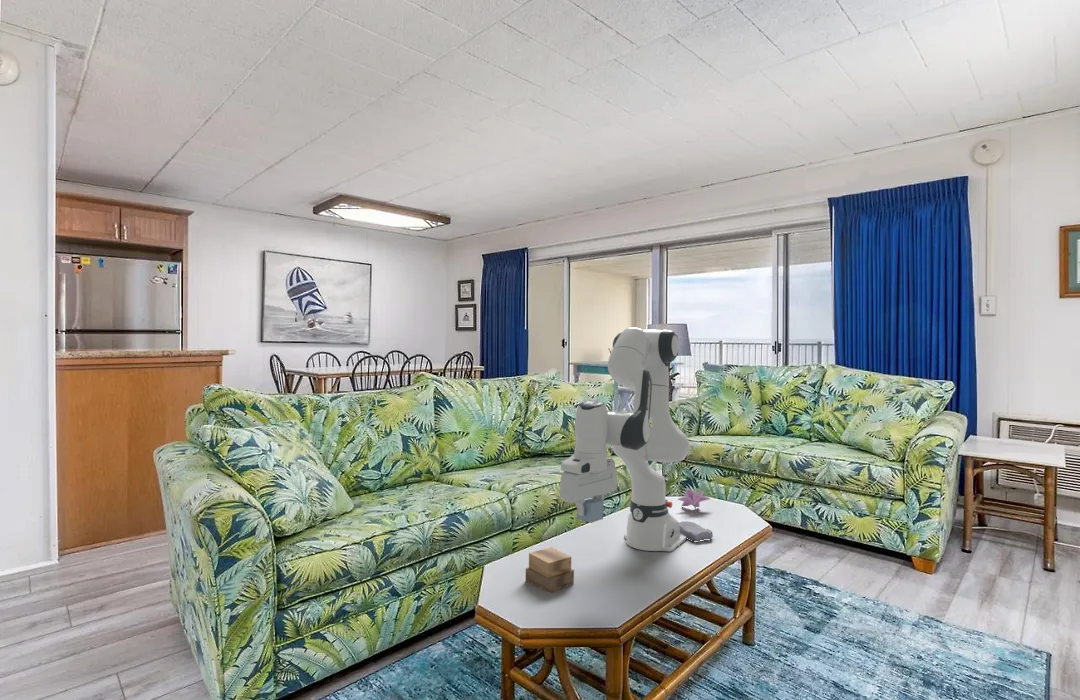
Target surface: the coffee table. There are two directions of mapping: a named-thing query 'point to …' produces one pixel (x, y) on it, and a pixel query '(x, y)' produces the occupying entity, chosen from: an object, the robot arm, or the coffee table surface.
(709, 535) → the stone block
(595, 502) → the slate cube
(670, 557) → the coffee table surface
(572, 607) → the coffee table surface
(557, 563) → the teak block
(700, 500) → the lily
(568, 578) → the walnut block
